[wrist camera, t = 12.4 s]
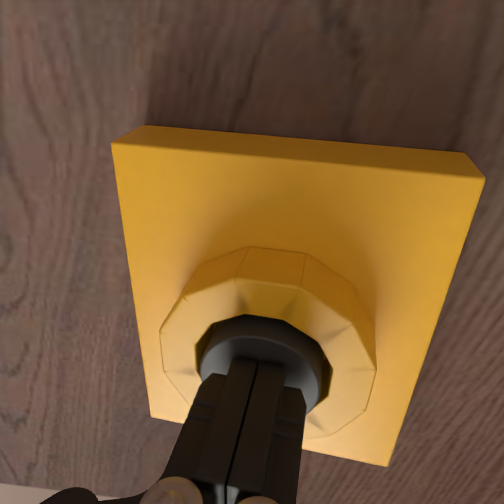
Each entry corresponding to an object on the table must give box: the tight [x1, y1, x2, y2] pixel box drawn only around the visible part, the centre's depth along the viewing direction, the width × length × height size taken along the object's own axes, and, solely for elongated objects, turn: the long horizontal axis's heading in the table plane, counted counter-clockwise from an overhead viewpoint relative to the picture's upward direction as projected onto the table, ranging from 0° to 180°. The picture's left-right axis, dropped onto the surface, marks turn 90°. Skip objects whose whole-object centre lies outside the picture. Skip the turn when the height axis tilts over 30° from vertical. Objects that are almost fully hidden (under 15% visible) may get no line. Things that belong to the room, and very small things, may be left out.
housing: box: [111, 125, 486, 467], centre depth 14 cm, size 12×10×4 cm
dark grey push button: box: [200, 314, 324, 415], centre depth 13 cm, size 4×4×2 cm
